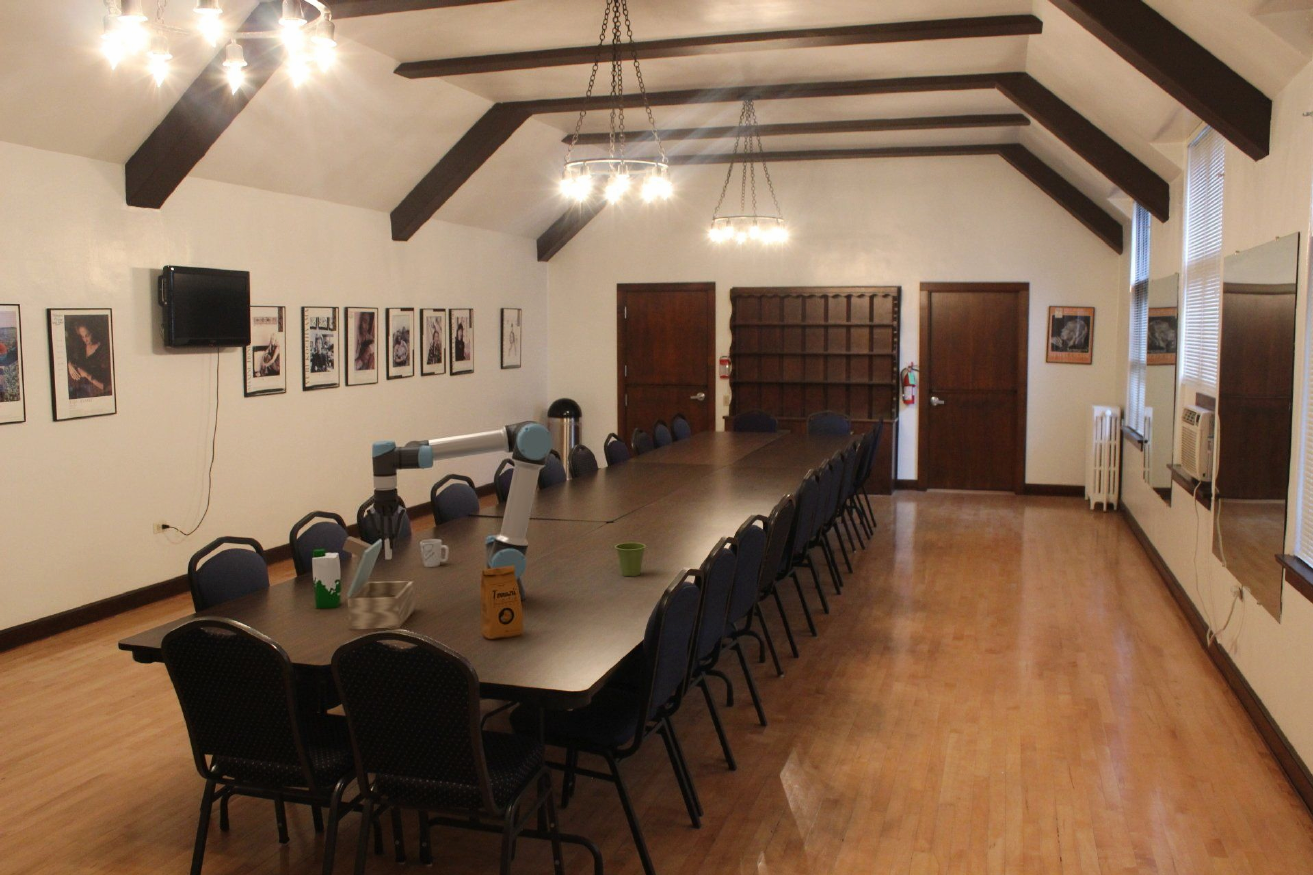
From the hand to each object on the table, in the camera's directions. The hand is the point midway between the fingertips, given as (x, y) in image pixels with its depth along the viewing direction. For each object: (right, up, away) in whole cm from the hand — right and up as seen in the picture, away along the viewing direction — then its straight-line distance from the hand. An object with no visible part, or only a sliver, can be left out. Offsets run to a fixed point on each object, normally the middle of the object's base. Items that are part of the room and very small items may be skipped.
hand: (388, 558), depth 346 cm
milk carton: (-26, -19, +21) cm, 39 cm away
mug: (-1, -12, +78) cm, 79 cm away
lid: (-7, -3, 0) cm, 8 cm away
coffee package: (+40, -22, -18) cm, 50 cm away
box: (-2, -21, +2) cm, 21 cm away
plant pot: (+79, -13, +56) cm, 98 cm away
